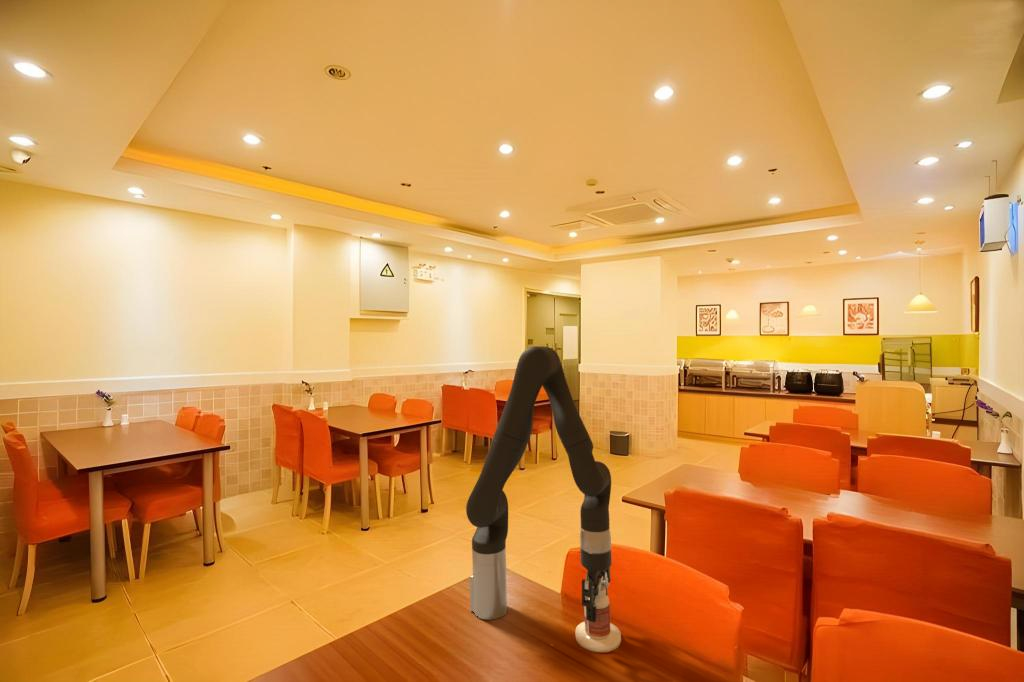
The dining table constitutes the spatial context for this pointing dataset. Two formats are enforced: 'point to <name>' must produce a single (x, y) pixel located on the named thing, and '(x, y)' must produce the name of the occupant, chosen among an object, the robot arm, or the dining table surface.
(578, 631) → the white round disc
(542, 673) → the dining table surface
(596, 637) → the pill bottle
